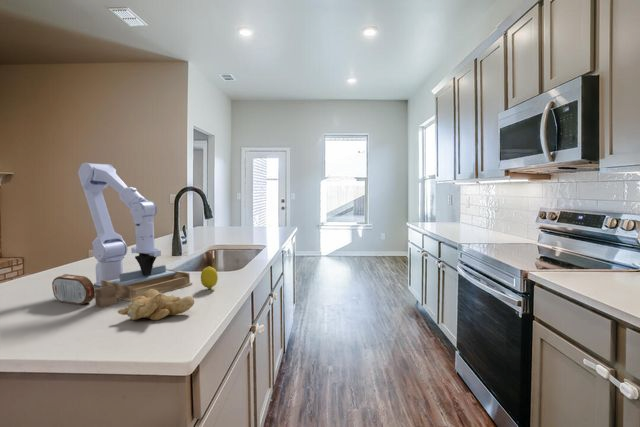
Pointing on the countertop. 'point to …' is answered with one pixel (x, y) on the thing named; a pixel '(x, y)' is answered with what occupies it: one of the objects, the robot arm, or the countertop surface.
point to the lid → (138, 276)
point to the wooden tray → (150, 285)
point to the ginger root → (156, 305)
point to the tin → (73, 289)
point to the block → (105, 296)
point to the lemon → (209, 277)
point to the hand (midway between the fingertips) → (146, 275)
